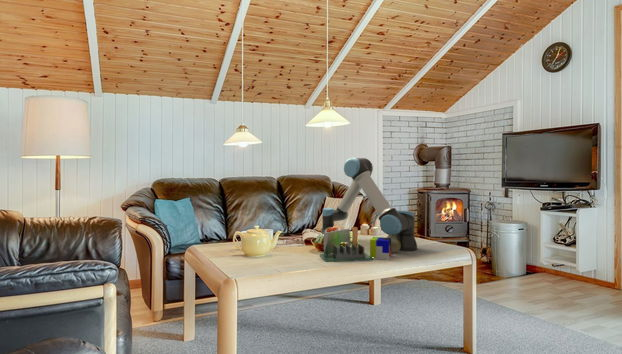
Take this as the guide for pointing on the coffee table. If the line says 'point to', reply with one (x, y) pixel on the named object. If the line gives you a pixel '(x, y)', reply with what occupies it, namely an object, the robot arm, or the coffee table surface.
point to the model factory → (348, 251)
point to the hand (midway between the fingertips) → (340, 240)
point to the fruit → (394, 243)
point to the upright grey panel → (335, 239)
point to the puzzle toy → (380, 247)
